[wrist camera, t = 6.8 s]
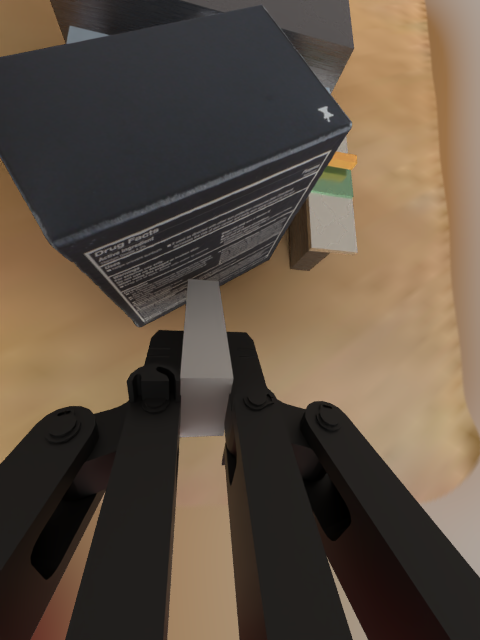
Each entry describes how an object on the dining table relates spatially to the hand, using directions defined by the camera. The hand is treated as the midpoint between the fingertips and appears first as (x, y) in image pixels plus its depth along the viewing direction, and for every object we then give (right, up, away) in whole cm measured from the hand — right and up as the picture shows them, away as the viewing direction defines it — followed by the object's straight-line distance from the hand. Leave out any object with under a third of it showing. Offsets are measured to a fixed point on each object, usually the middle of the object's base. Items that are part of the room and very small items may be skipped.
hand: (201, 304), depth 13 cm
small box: (-2, +4, +5) cm, 6 cm away
